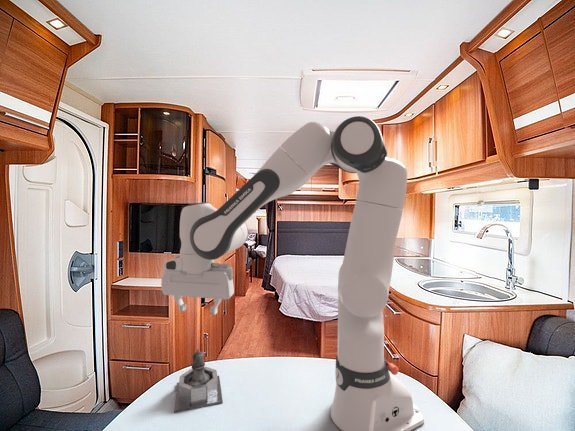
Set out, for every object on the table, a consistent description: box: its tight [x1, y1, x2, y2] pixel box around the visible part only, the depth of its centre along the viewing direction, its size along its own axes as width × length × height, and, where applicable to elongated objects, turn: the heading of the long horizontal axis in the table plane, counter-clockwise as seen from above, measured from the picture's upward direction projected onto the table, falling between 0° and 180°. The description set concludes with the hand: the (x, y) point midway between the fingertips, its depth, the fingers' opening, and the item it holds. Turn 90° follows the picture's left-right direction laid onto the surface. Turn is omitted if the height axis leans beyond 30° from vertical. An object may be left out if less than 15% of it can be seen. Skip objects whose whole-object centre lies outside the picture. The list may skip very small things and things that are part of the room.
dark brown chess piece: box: [187, 348, 210, 386], centre depth 81 cm, size 6×6×12 cm
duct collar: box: [173, 366, 224, 413], centre depth 81 cm, size 12×12×5 cm
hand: (197, 312), depth 80 cm, fingers open, 8 cm apart
